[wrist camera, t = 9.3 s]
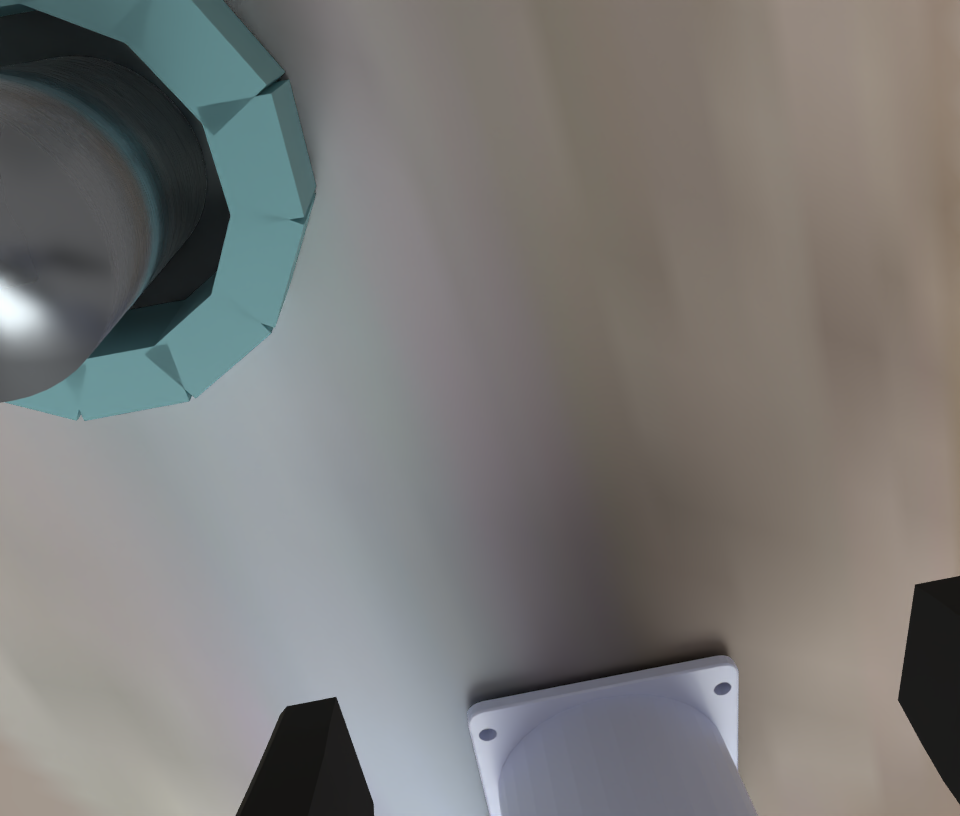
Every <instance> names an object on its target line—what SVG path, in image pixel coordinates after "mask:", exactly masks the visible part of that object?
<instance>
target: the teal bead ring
mask: <svg viewBox="0 0 960 816" xmlns="http://www.w3.org/2000/svg"><path fill="white" fill-rule="evenodd" d="M35 10H38V11H41V12H44V13H46V14H49V15H52V16H54V17H57V18H60V19H62V20H65V21H68V22H70V23H73V24H76V25H78V26H81V27H84V28H86V29H89V30H92V31H94V32H97V33H100V34H102V35H105V36H108V37H110V38H113V39H116V40H118V41H121V42H123V43H126V44H127V45H128V46H129V47H130V48H131V49H132V50H133V51H134V53H135V54H136V55H137V56H138V57H139V58H140V59H141V60H142V61H143V62H144V63H145V64H146V65H147V66H148V67H149V68H150V69H151V70H152V71H153V72H154V73H155V75H156V76H157V77H158V78H159V79H160V80H161V81H162V82H163V83H164V84H165V85H166V86H167V87H168V88H169V89H170V90H171V91H172V92H173V93H174V94H175V96H176V97H177V98H178V99H179V100H180V101H181V102H182V103H183V104H184V105H185V106H186V107H187V108H188V109H189V110H190V111H191V112H192V113H193V114H194V115H195V116H196V118H197V119H198V120H199V121H200V122H201V123H202V125H203V128H204V131H205V134H206V138H207V141H208V144H209V147H210V150H211V154H212V157H213V160H214V163H215V167H216V170H217V173H218V176H219V179H220V183H221V186H222V189H223V192H224V195H225V199H226V202H227V205H228V208H229V212H230V215H231V216H230V220H229V224H228V228H227V232H226V236H225V240H224V245H223V249H222V253H221V257H220V261H219V265H218V269H217V272H216V273H214V274H213V275H212V276H211V277H210V278H209V279H208V280H207V281H206V282H204V283H203V284H202V285H201V286H200V287H199V288H198V289H197V290H196V291H195V292H193V293H192V294H191V295H190V296H189V297H188V298H187V299H186V300H181V301H176V302H170V303H165V304H159V305H154V306H148V307H143V308H137V309H132V310H128V311H127V312H126V313H125V314H124V315H123V317H122V318H121V319H120V320H119V321H118V323H117V324H116V325H115V326H114V327H113V329H112V330H111V331H110V332H109V333H108V335H107V336H106V337H105V338H104V339H103V340H102V342H101V343H100V344H99V345H98V346H97V348H96V349H95V350H94V351H93V352H92V354H91V355H90V356H89V357H88V358H87V359H86V360H85V362H84V363H83V364H82V365H81V366H80V367H79V368H78V369H77V370H76V371H75V372H74V373H72V374H71V375H70V376H68V377H67V378H66V379H65V380H63V381H62V382H60V383H58V384H57V385H55V386H53V387H51V388H49V389H48V390H45V391H43V392H40V393H38V394H35V395H33V396H30V397H26V398H22V399H18V400H14V401H8V402H6V403H9V404H13V405H17V406H21V407H25V408H29V409H33V410H37V411H41V412H45V413H49V414H53V415H57V416H61V417H65V418H68V419H72V420H76V421H77V419H78V418H79V417H80V415H82V417H83V419H84V421H87V420H92V419H97V418H103V417H108V416H114V415H119V414H124V413H130V412H135V411H140V410H146V409H151V408H157V407H162V406H167V405H173V404H178V403H183V402H189V401H190V399H191V397H192V396H193V397H195V398H197V397H198V396H199V395H200V394H201V393H203V392H204V391H205V390H206V389H207V388H208V387H209V386H211V385H212V384H213V383H214V382H215V381H216V380H218V379H219V378H220V377H221V376H222V375H223V374H225V373H226V372H227V371H228V370H229V369H230V368H232V367H233V366H234V365H235V364H236V363H237V362H239V361H240V360H241V359H242V358H243V357H244V356H246V355H247V354H248V353H249V352H250V351H251V350H253V349H254V348H255V347H256V346H257V345H258V344H260V343H261V342H262V341H263V340H264V339H265V338H266V337H268V336H269V335H270V334H271V333H272V330H273V327H275V326H276V323H277V320H278V317H279V315H280V312H281V309H282V306H283V303H284V300H285V297H286V294H287V292H288V289H289V286H290V283H291V279H292V276H293V272H294V269H295V265H296V262H297V258H298V255H299V251H300V248H301V244H302V241H303V237H304V234H305V230H306V227H307V223H308V220H309V216H310V213H311V209H312V206H313V202H314V199H315V195H316V193H314V191H315V188H316V183H315V179H314V175H313V171H312V167H311V164H310V160H309V156H308V152H307V148H306V144H305V140H304V136H303V132H302V128H301V124H300V120H299V116H298V112H297V108H296V104H295V100H294V96H293V93H292V89H291V85H290V81H289V80H283V81H277V80H278V79H279V78H280V77H281V76H282V75H283V74H284V73H285V71H284V70H283V69H282V68H281V67H280V65H279V64H278V63H277V62H276V61H275V60H274V58H273V57H272V56H271V55H270V54H269V53H268V52H267V50H266V49H265V48H264V47H263V46H262V45H261V44H260V42H259V41H258V40H257V39H256V38H255V37H254V35H253V34H252V33H251V32H250V31H249V30H248V29H247V27H246V26H245V25H244V24H243V23H242V22H241V20H240V19H239V18H238V17H237V16H236V15H235V14H234V12H233V11H232V10H231V9H230V8H229V7H228V6H227V4H226V3H225V2H224V1H223V0H0V17H1V16H7V15H13V14H18V13H24V12H30V11H35ZM275 81H277V82H275Z"/></svg>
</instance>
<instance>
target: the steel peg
mask: <svg viewBox="0 0 960 816" xmlns="http://www.w3.org/2000/svg"><path fill="white" fill-rule="evenodd" d="M206 181H207V178H206V170H205V163H204V159H203V155H202V151H201V148H200V146H199V143H198V141H197V138H196V136H195V134H194V132H193V130H192V128H191V126H190V124H189V123H188V121H187V120H186V118H185V117H184V115H183V114H182V112H181V111H180V110H179V109H178V107H177V106H176V105H175V104H174V103H173V102H172V100H171V99H170V98H169V97H168V96H167V95H165V94H164V93H163V92H162V91H161V90H160V89H159V88H158V87H157V86H155V85H154V84H152V83H151V82H150V81H148V80H147V79H146V78H144V77H142V76H141V75H139V74H137V73H136V72H134V71H132V70H130V69H128V68H126V67H123V66H121V65H119V64H116V63H113V62H110V61H106V60H103V59H99V58H93V57H87V56H64V57H55V58H50V59H44V60H38V61H32V62H27V63H21V64H15V65H10V66H4V67H0V402H8V401H14V400H18V399H22V398H26V397H30V396H33V395H35V394H38V393H40V392H43V391H45V390H48V389H49V388H51V387H53V386H55V385H57V384H58V383H60V382H62V381H63V380H65V379H66V378H67V377H68V376H70V375H71V374H72V373H74V372H75V371H76V370H77V369H78V368H79V367H80V366H81V365H82V364H83V363H84V362H85V360H86V359H87V358H88V357H89V356H90V355H91V354H92V352H93V351H94V350H95V349H96V348H97V346H98V345H99V344H100V343H101V342H102V340H103V339H104V338H105V337H106V336H107V335H108V333H109V332H110V331H111V330H112V329H113V327H114V326H115V325H116V324H117V323H118V321H119V320H120V319H121V318H122V317H123V315H124V314H125V313H126V312H127V311H128V309H129V308H130V307H131V306H132V305H133V303H134V302H135V301H136V300H137V299H138V298H139V296H140V295H141V294H142V293H143V292H144V290H145V289H146V288H147V287H148V286H149V284H150V283H151V282H152V281H153V280H154V278H155V277H156V276H157V275H158V274H159V272H160V271H161V270H162V269H163V268H164V266H165V265H166V264H167V263H168V262H169V261H170V259H171V258H172V257H173V256H174V255H175V253H176V252H177V251H178V250H179V249H180V247H181V246H182V245H183V244H184V243H185V241H186V240H187V239H188V238H189V236H190V235H191V233H192V232H193V230H194V229H195V228H196V225H197V223H198V221H199V219H200V217H201V214H202V211H203V207H204V204H205V197H206Z"/></svg>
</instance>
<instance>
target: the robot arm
mask: <svg viewBox="0 0 960 816" xmlns="http://www.w3.org/2000/svg"><path fill="white" fill-rule="evenodd" d="M720 683H721V684H720ZM738 690H739V672H738V668H737V666H736V664H735V662H734V661H733V659H731V658H730V657H728V656H725V655H719V656H712V657H707V658H702V659H697V660H692V661H687V662H682V663H676V664H671V665H666V666H661V667H656V668H651V669H646V670H641V671H635V672H630V673H625V674H620V675H615V676H610V677H605V678H599V679H594V680H589V681H584V682H579V683H574V684H569V685H564V686H558V687H553V688H548V689H543V690H538V691H533V692H528V693H522V694H517V695H512V696H507V697H502V698H497V699H492V700H486V701H481V702H478V703H476V704H474V705H473V706H471V707H470V709H469V710H468V712H467V720H468V727H469V731H470V735H471V739H472V744H473V748H474V752H475V756H476V760H477V764H478V769H479V773H480V777H481V781H482V785H483V790H484V794H485V798H486V802H487V806H488V810H489V815H490V816H758V815H757V812H756V810H755V808H754V806H753V803H752V801H751V799H750V797H749V795H748V792H747V790H746V788H745V786H744V784H743V781H742V779H741V777H740V775H739V773H738ZM898 701H899V703H900V705H901V706H902V708H903V710H904V712H905V714H906V716H907V717H908V719H909V721H910V723H911V725H912V727H913V728H914V730H915V732H916V734H917V736H918V738H919V740H920V741H921V743H922V745H923V747H924V748H925V750H926V752H927V754H928V755H929V757H930V759H931V760H932V762H933V764H934V766H935V767H936V769H937V771H938V773H939V774H940V776H941V778H942V779H943V781H944V782H945V784H946V785H947V787H948V788H949V790H950V791H951V793H952V794H953V795H954V797H955V798H956V800H957V801H958V803H959V804H960V576H957V577H952V578H947V579H942V580H937V581H931V582H926V583H921V584H916V585H915V589H914V596H913V603H912V609H911V616H910V623H909V630H908V636H907V643H906V650H905V657H904V663H903V670H902V677H901V683H900V690H899V697H898ZM484 729H488V730H484ZM236 816H374V804H373V800H372V798H371V795H370V792H369V789H368V786H367V783H366V780H365V778H364V775H363V772H362V769H361V766H360V763H359V760H358V758H357V755H356V752H355V749H354V746H353V743H352V741H351V738H350V735H349V732H348V729H347V726H346V723H345V721H344V718H343V715H342V712H341V709H340V706H339V703H338V701H337V698H336V697H333V698H328V699H323V700H318V701H313V702H308V703H302V704H297V705H292V706H287V707H286V708H285V709H284V711H283V712H282V713H281V714H280V716H279V719H278V721H277V723H276V726H275V728H274V731H273V733H272V735H271V738H270V740H269V742H268V745H267V747H266V749H265V752H264V754H263V756H262V759H261V761H260V763H259V766H258V768H257V770H256V772H255V775H254V777H253V779H252V781H251V783H250V786H249V788H248V790H247V792H246V794H245V797H244V799H243V801H242V803H241V805H240V807H239V809H238V812H237V814H236Z"/></svg>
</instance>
